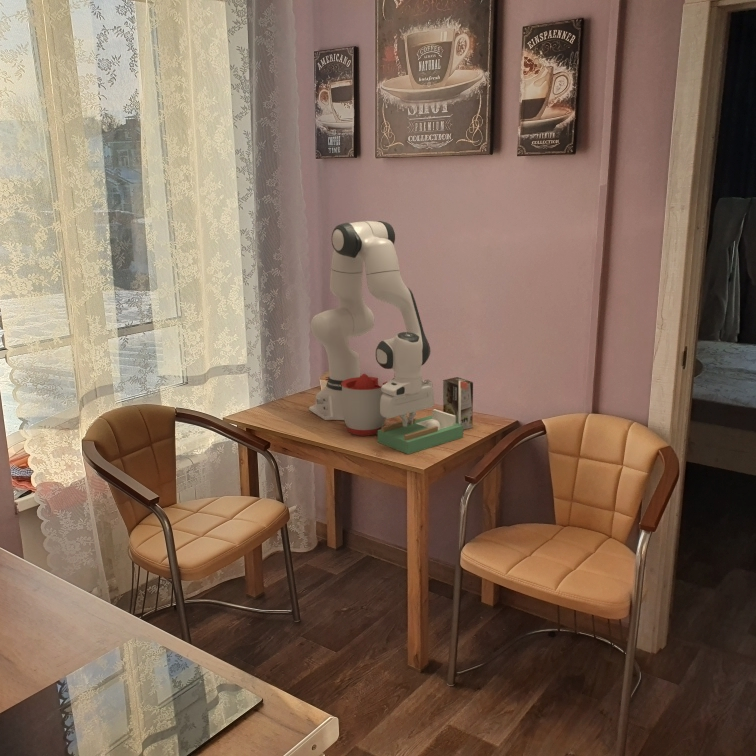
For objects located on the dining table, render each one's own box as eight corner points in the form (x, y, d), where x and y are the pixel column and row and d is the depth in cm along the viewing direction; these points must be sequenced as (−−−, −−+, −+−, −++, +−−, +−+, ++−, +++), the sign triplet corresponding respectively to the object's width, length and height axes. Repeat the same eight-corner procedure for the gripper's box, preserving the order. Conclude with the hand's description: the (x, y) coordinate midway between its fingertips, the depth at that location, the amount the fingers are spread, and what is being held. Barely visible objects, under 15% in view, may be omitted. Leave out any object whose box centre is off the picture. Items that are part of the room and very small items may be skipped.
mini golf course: (377, 442, 252) (376, 385, 247) (431, 426, 267) (431, 372, 262) (412, 456, 239) (412, 396, 234) (467, 438, 254) (468, 382, 249)
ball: (422, 421, 256) (432, 413, 258) (421, 431, 260) (431, 423, 262) (433, 430, 253) (444, 421, 256) (432, 439, 257) (443, 431, 260)
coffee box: (473, 427, 265) (474, 382, 260) (458, 431, 261) (458, 385, 257) (457, 420, 272) (457, 376, 268) (442, 424, 269) (442, 379, 265)
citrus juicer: (401, 431, 262) (401, 374, 257) (358, 441, 253) (356, 382, 248) (376, 419, 275) (375, 365, 270) (333, 429, 265) (332, 372, 260)
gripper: (425, 376, 254) (425, 416, 258) (377, 387, 242) (377, 429, 246) (438, 380, 250) (438, 421, 253) (389, 392, 237) (389, 434, 241)
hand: (407, 425), depth 250 cm, fingers closed
